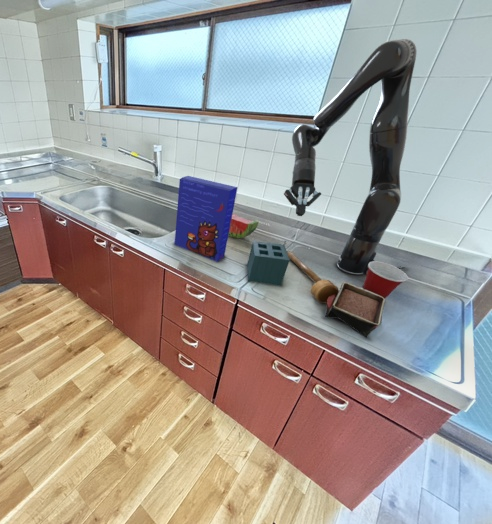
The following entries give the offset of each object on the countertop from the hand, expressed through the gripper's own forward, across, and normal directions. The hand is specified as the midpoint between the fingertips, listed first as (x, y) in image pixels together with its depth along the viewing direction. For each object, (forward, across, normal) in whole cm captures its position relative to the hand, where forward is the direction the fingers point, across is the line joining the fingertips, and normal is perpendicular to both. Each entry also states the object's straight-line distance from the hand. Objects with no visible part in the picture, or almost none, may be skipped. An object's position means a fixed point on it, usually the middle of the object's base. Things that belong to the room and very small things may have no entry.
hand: (300, 215), depth 106 cm
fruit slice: (-1, -23, +30) cm, 38 cm away
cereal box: (+14, -35, +15) cm, 41 cm away
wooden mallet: (+9, -1, +18) cm, 20 cm away
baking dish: (+36, +15, -6) cm, 39 cm away
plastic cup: (+27, +26, +3) cm, 37 cm away
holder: (+23, -10, +6) cm, 26 cm away
